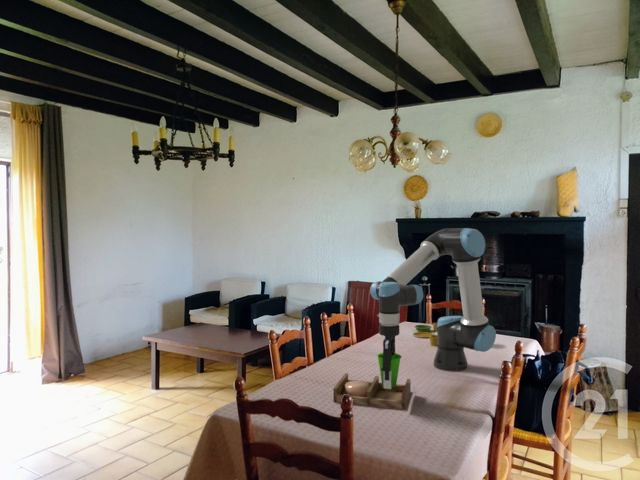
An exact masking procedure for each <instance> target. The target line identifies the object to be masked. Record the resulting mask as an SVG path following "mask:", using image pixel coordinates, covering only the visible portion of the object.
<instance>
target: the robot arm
mask: <svg viewBox="0 0 640 480" xmlns="http://www.w3.org/2000/svg"><path fill="white" fill-rule="evenodd" d="M485 249H486V240H485V237H484V235H483V233H482V232H480V231H479V230H478V229H475V228H470V227H464V228H463V227H461V228H459V227H457V228H449V227H448V228H447V227H446V228H442V229H440V230H438V231H435V232H434V233H432V234H431V235H428V237H427V238H426V239H424V240H423V241H422V242H421V243H420V247H418V249H417V250H415V251H414V252H413V253H412V254H411V255H409V257H408V258H406V260H404V261H403V262H402V263H401V264H400V265H399V266H397V268H395V269H394V270H393V271H392V272H391V273H390V274H388V276H386V278H384V279H383V280H382V281H381V280H379V281H374V282H373V283H371V286H370V289H369V290H370V291H369V293H370V295H371V298H373V300H377V301H378V310H379V312H378V314H377V317H378V321H379V324H378V333H379V335H380V336H383V337H384V338H383V341H382V350H383V352H382V353H383V368H382V369H381V371H383V388H386V389H391V355H394V353H396V337H397V336H400V322H401V321H400V320H401V318H400V316H401V314H400V307H406V306H414V305H418V304H420V303H422V301H423V299H424V290H423V289H422V287H421V286H419V284H418V285H417V284H409V283H410V282H411V280H413V278H415V277H416V276H417V275H418V274H419V273H420V272H421V271H423V270H424V269H425V268H426V266H428V265H429V264H430V263H431V262H432V261H436V260H437V259H439V258H440V257H442V256H445V255H446V256H447V255H448V256H451V259H452V260H451V261H452V262H453V263H454V264H455V265H456V270H457V277H458V285H459V292H460V299H461V308H462V315H448V316H447V315H446V316H441V317H439V318H438V319H437V323H438V326H437V332H436V333H437V334H436V335H437V339H438V346H437V349H436V353H435V355H434V358H433V366H434V367H435V368H436V369H439V370H443V371H448V372H449V371H450V372H457V371H458V372H460V371H464V370H467V369H468V361H467V360H468V359H467V357H466V354H465V350H464V349H468V350H473V351H475V352H482V353H485V352H487V351H490V350H491V349H492V348H493V345H494V344H495V341H496V336H497V331H496V329H495V327H494V326H493V325H490V324H489V318H488V317H487V316H485V313H484V305H483V295H482V287H481V279H480V273H479V262H480V260H481V259H482V258H481V256H482V255H483V254H484V253H485ZM407 284H409V285H407ZM387 367H388V368H387Z"/></svg>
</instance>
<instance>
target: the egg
mask: <svg viewBox="0 0 640 480" xmlns="http://www.w3.org/2000/svg"><path fill="white" fill-rule="evenodd" d="M363 381H364V380H356V381H350V382H347V383H346V384H345V394H349V395H350V396H358V397H367V391H368V389H369V384H368V383H366V382H363Z"/></svg>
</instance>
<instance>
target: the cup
mask: <svg viewBox="0 0 640 480" xmlns="http://www.w3.org/2000/svg"><path fill="white" fill-rule="evenodd" d="M376 357H377V359H378V360H377V361H378V366H379V372H380V379H381V383H382V384H383V371H381V369H382V368H383V352H382V353H378V354H377V355H376ZM401 358H402V355H401V354H398V353H396V352H395V353H394V355H391V387H395V386H396V384H398V376H399V370H400V364H401V363H400V362H401ZM387 368H388V367H387Z"/></svg>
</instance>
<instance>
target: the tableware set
mask: <svg viewBox="0 0 640 480" xmlns="http://www.w3.org/2000/svg"><path fill="white" fill-rule="evenodd" d="M432 326H433V332H435V333H437V326H438V322H433V323H432ZM432 326H431V325H427V324H416V325H414V328H415V329H416V331H417V332H416V331H415V332H413V333H412V336H413V337H415V338H418V339H429V342H430V343H429V344H430V346H432V347H438V339H437V334H434V333H432V332H430V329H432Z"/></svg>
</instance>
